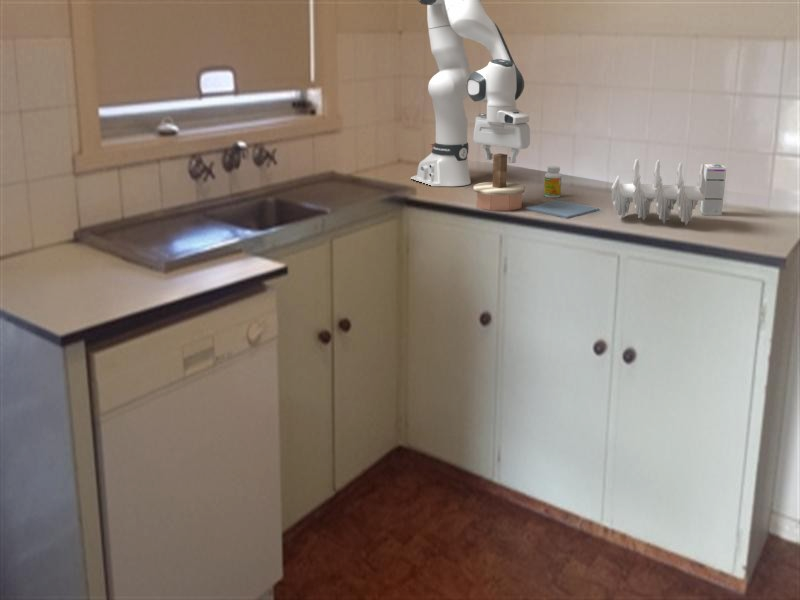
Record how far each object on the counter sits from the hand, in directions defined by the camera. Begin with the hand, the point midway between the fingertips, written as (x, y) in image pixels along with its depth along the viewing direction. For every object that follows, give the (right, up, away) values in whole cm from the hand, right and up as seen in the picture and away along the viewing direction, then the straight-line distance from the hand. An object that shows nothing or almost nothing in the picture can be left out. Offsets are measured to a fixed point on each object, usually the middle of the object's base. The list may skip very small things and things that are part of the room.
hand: (500, 161), depth 266 cm
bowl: (0, -13, +5) cm, 14 cm away
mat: (+19, -15, -1) cm, 24 cm away
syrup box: (+62, -17, -6) cm, 65 cm away
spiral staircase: (+44, -20, -14) cm, 50 cm away
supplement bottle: (+19, -9, +19) cm, 28 cm away
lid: (0, -8, +3) cm, 9 cm away
